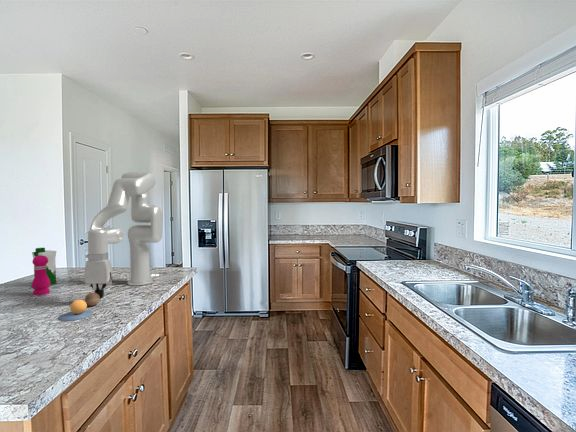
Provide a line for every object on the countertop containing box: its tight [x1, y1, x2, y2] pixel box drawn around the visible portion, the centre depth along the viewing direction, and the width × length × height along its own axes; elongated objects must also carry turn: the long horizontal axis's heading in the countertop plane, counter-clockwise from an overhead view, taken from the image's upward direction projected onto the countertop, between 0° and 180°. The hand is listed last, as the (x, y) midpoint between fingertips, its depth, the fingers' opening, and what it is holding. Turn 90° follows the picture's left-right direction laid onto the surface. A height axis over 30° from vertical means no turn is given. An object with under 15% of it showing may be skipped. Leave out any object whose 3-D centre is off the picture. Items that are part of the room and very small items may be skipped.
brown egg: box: [84, 292, 101, 307], centre depth 137 cm, size 6×6×6 cm
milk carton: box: [31, 247, 57, 286], centre depth 173 cm, size 9×9×20 cm
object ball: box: [69, 299, 88, 314], centre depth 127 cm, size 6×6×6 cm
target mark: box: [57, 310, 93, 322], centre depth 125 cm, size 11×11×1 cm
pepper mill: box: [31, 252, 51, 296], centre depth 156 cm, size 7×7×20 cm
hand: (99, 298), depth 143 cm, fingers closed
